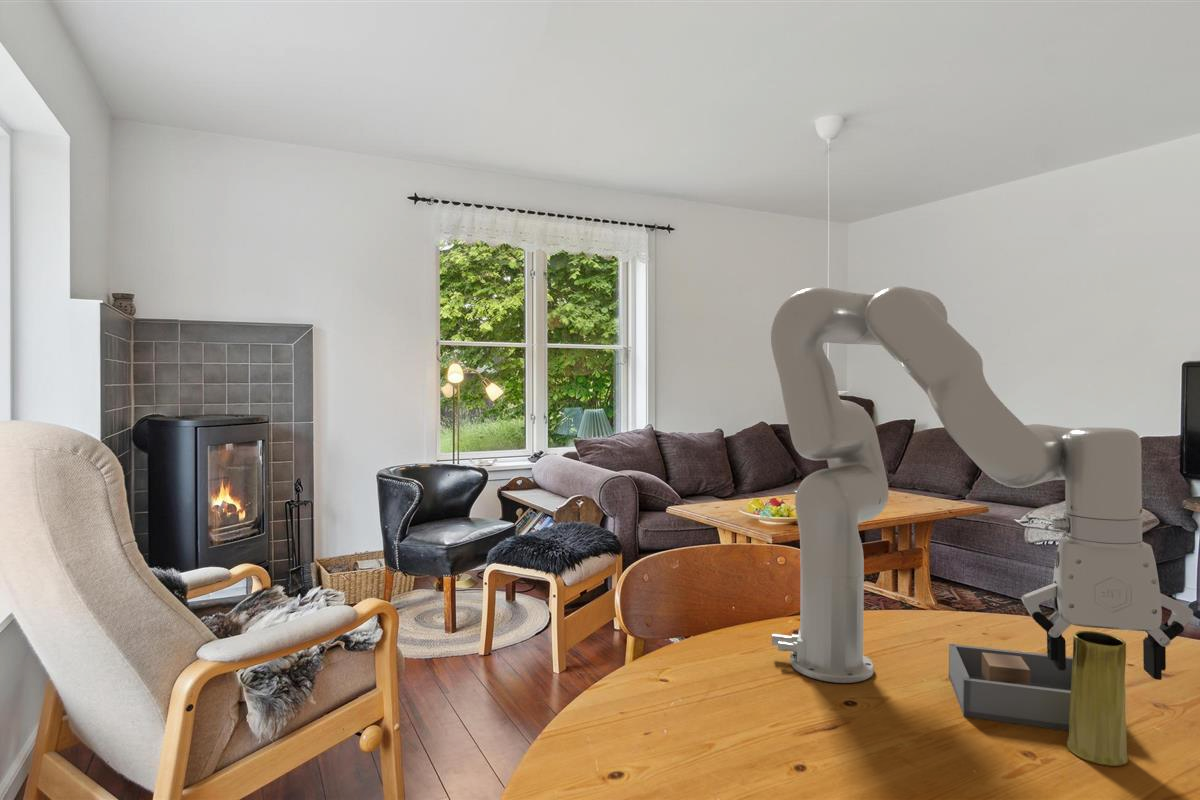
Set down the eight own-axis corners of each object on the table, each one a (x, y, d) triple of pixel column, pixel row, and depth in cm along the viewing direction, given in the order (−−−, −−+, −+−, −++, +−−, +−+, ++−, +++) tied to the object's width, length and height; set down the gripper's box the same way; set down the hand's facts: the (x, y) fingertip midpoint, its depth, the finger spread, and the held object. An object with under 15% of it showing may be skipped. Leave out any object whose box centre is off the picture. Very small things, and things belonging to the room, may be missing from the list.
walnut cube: (988, 701, 98) (989, 665, 97) (981, 686, 102) (981, 652, 102) (1029, 706, 96) (1030, 670, 96) (1020, 690, 101) (1020, 656, 101)
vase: (1138, 769, 82) (1141, 649, 81) (1080, 764, 83) (1082, 645, 83) (1112, 743, 88) (1114, 630, 87) (1057, 738, 89) (1060, 627, 89)
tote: (963, 716, 95) (964, 680, 95) (948, 675, 108) (949, 643, 108) (1117, 737, 89) (1118, 698, 89) (1082, 692, 102) (1082, 658, 102)
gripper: (1029, 532, 84) (1031, 675, 84) (1206, 540, 78) (1207, 692, 78) (1014, 521, 91) (1016, 652, 91) (1175, 527, 85) (1176, 666, 85)
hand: (1104, 670), depth 85 cm, fingers open, 9 cm apart
